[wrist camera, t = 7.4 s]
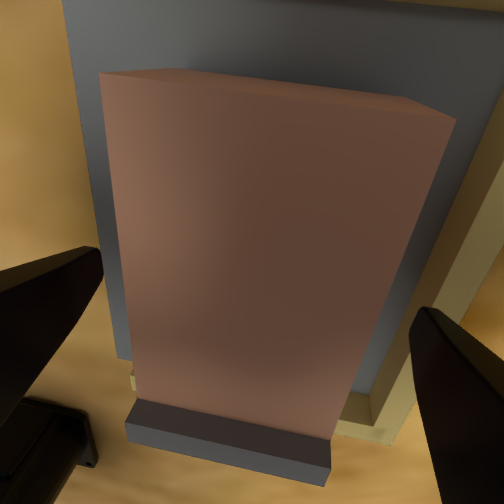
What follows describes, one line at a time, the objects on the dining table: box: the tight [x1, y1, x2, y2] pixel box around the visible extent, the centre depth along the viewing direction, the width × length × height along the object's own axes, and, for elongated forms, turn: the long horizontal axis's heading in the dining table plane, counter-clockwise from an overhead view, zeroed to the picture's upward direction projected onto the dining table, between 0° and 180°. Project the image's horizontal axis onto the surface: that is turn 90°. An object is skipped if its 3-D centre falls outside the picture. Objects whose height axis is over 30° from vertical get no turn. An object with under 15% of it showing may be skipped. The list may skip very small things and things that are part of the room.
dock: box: [62, 0, 504, 446], centre depth 12 cm, size 16×13×4 cm
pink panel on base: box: [99, 68, 457, 487], centre depth 10 cm, size 10×6×5 cm, turn 174°
